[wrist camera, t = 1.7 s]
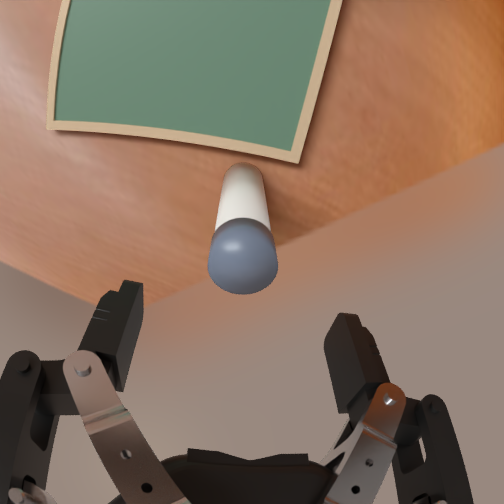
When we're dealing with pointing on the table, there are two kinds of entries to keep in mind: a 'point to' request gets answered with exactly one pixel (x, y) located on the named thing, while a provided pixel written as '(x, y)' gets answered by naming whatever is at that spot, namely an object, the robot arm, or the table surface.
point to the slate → (192, 70)
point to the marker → (242, 234)
